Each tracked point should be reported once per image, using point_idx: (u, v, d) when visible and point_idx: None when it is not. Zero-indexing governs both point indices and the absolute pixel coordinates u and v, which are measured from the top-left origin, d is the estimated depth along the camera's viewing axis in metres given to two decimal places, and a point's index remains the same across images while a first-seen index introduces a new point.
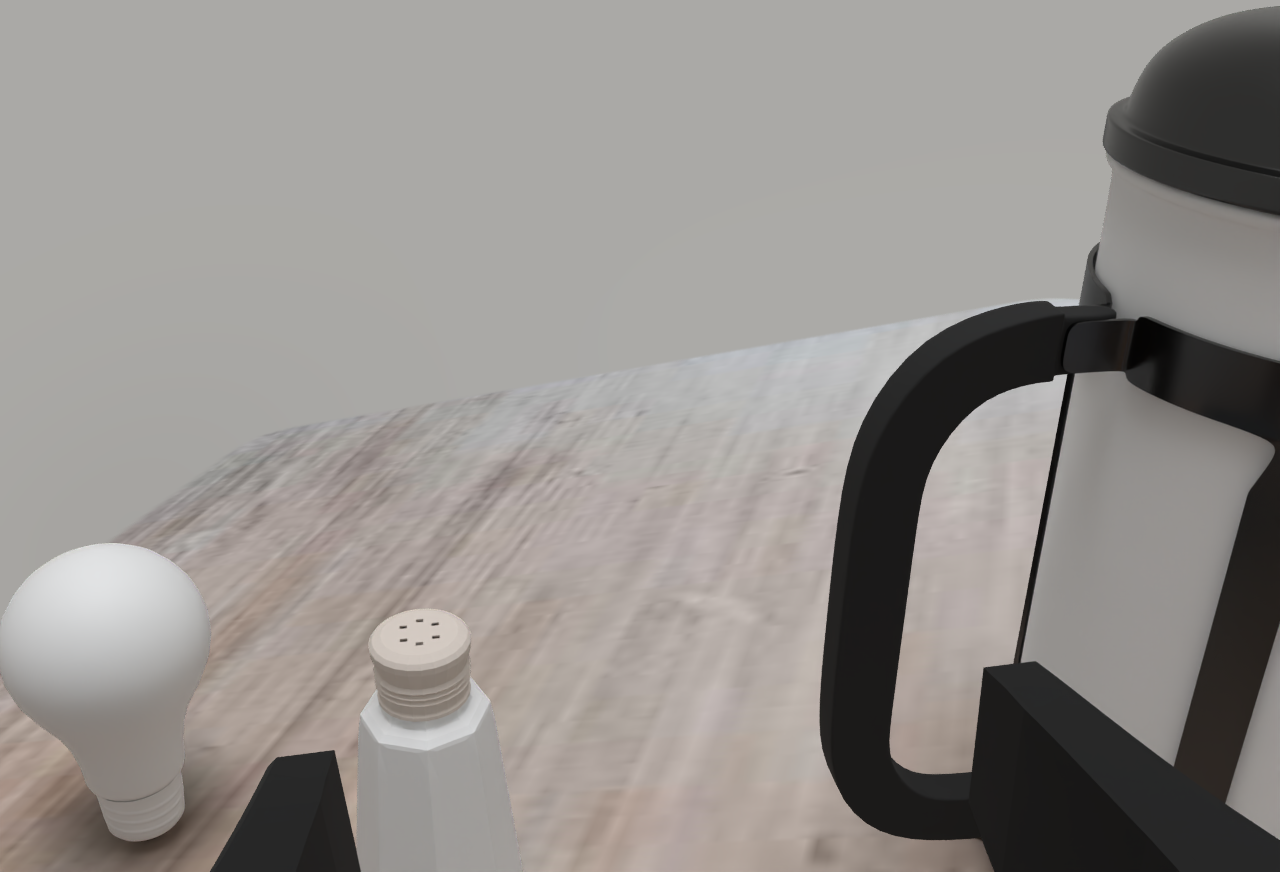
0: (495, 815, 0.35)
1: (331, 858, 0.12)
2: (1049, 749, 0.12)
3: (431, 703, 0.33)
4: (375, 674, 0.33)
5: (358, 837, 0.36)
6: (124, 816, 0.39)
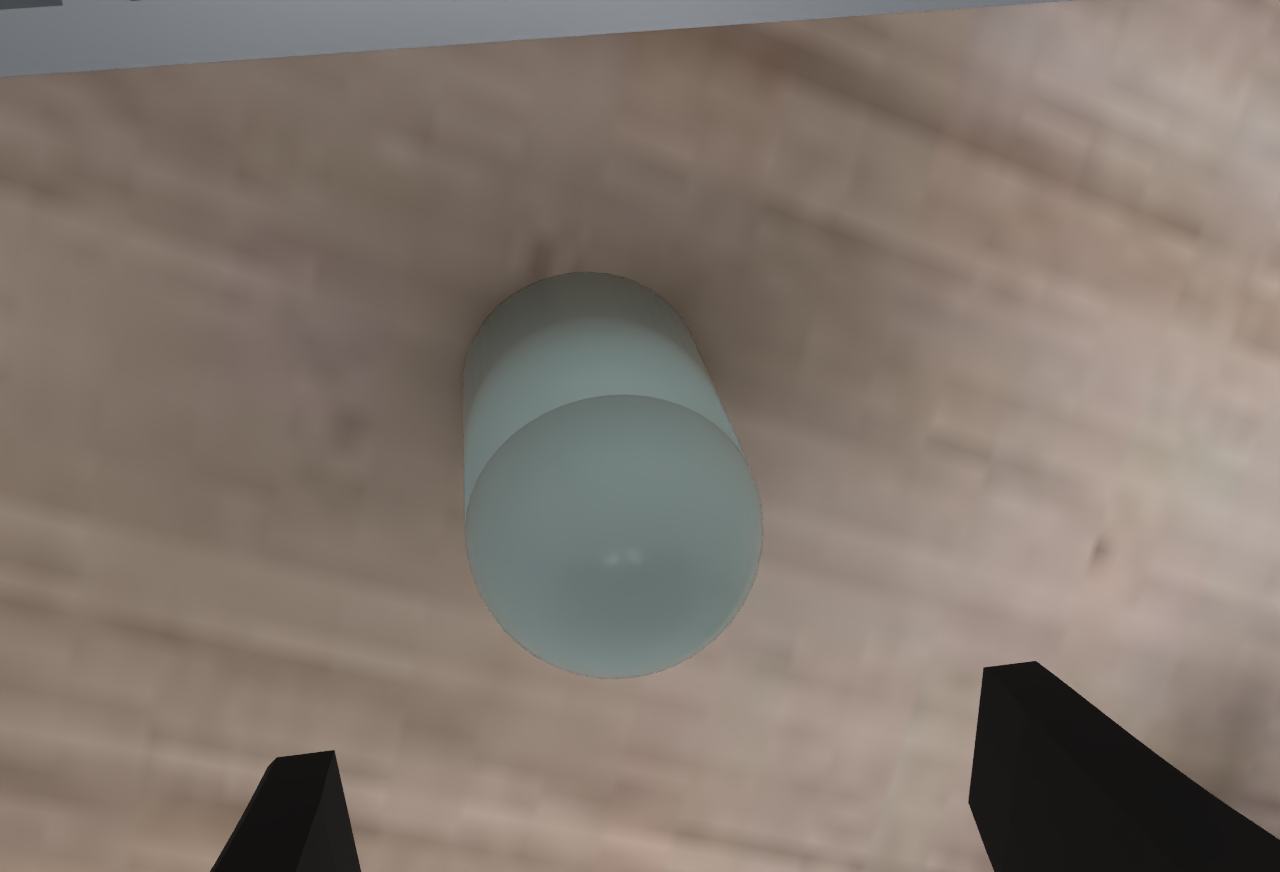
0: None
1: (331, 858, 0.12)
2: (1050, 749, 0.12)
3: None
4: None
5: None
6: None
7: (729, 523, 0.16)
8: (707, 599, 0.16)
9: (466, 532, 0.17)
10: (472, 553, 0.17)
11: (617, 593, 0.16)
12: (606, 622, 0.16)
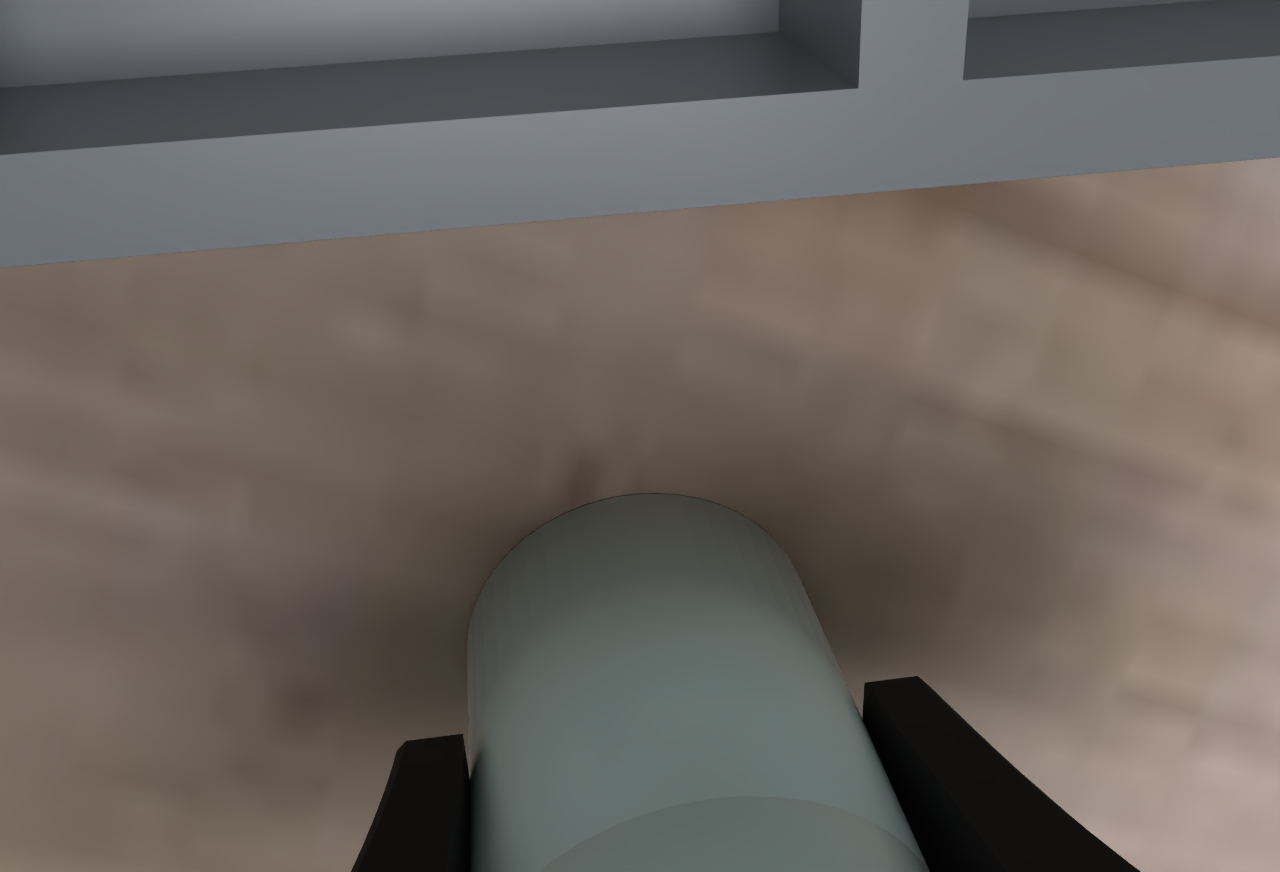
0: None
1: (467, 840, 0.12)
2: (916, 767, 0.12)
3: None
4: None
5: None
6: None
7: None
8: None
9: None
10: None
11: None
12: None
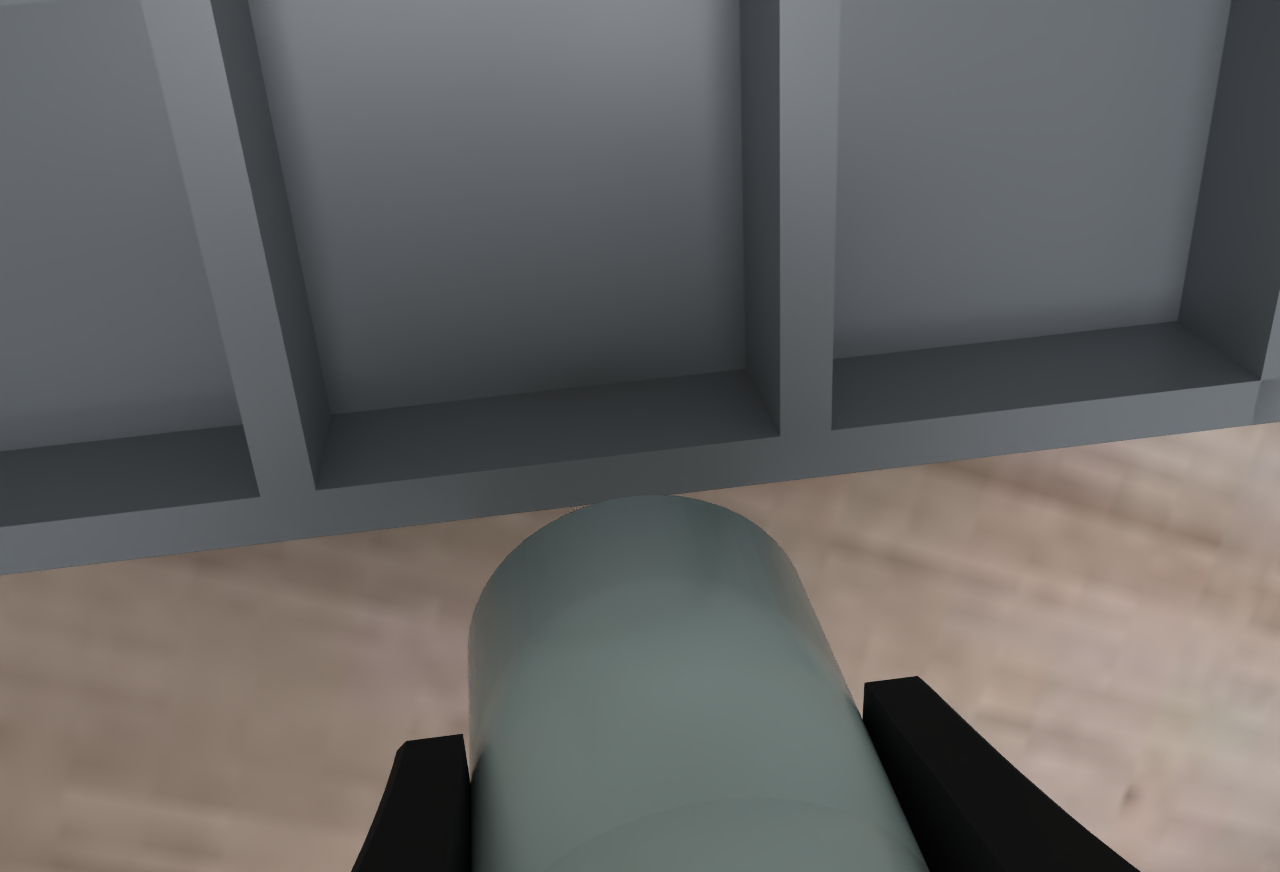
0: None
1: (467, 839, 0.12)
2: (917, 766, 0.12)
3: None
4: None
5: None
6: None
7: None
8: None
9: None
10: None
11: None
12: None
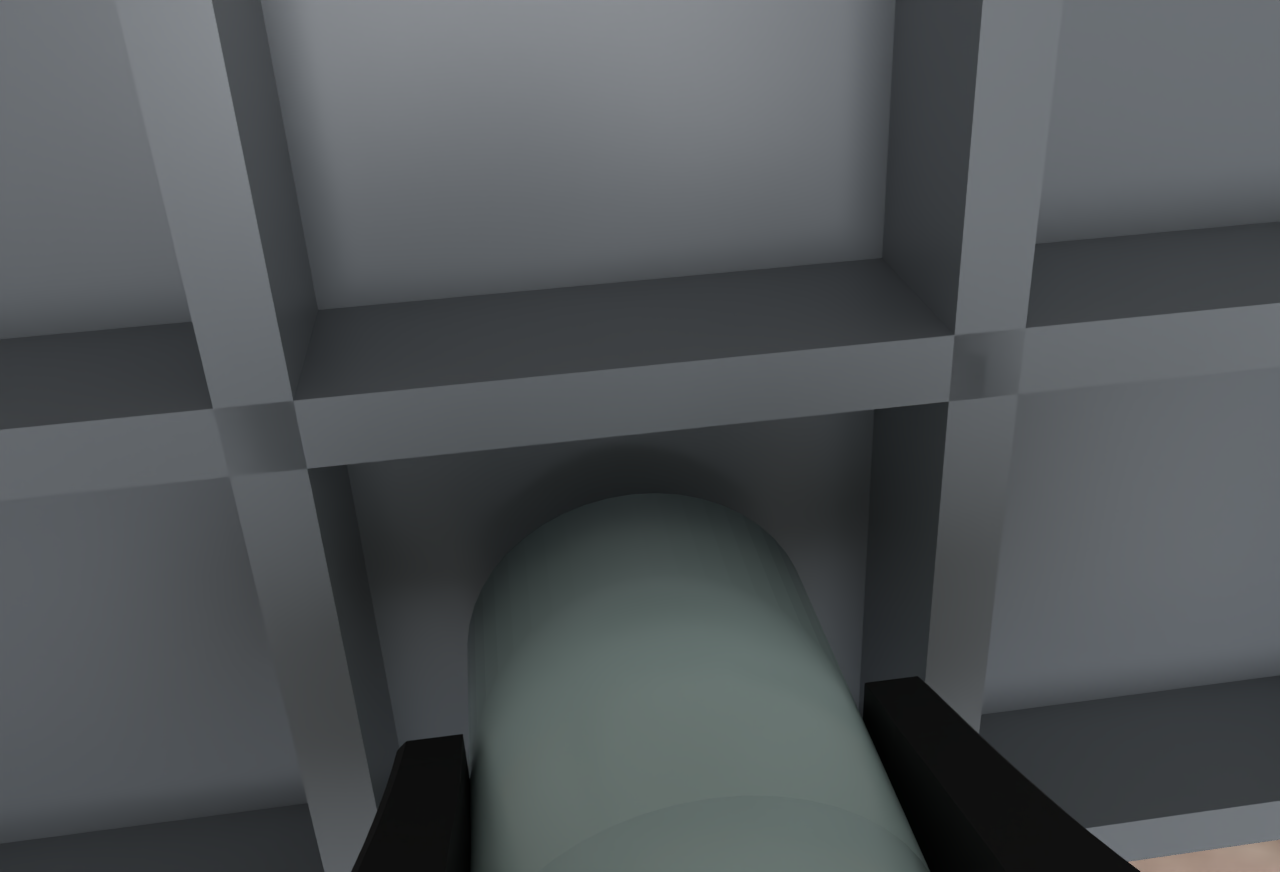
0: None
1: (467, 840, 0.12)
2: (916, 767, 0.12)
3: None
4: None
5: None
6: None
7: None
8: None
9: None
10: None
11: None
12: None
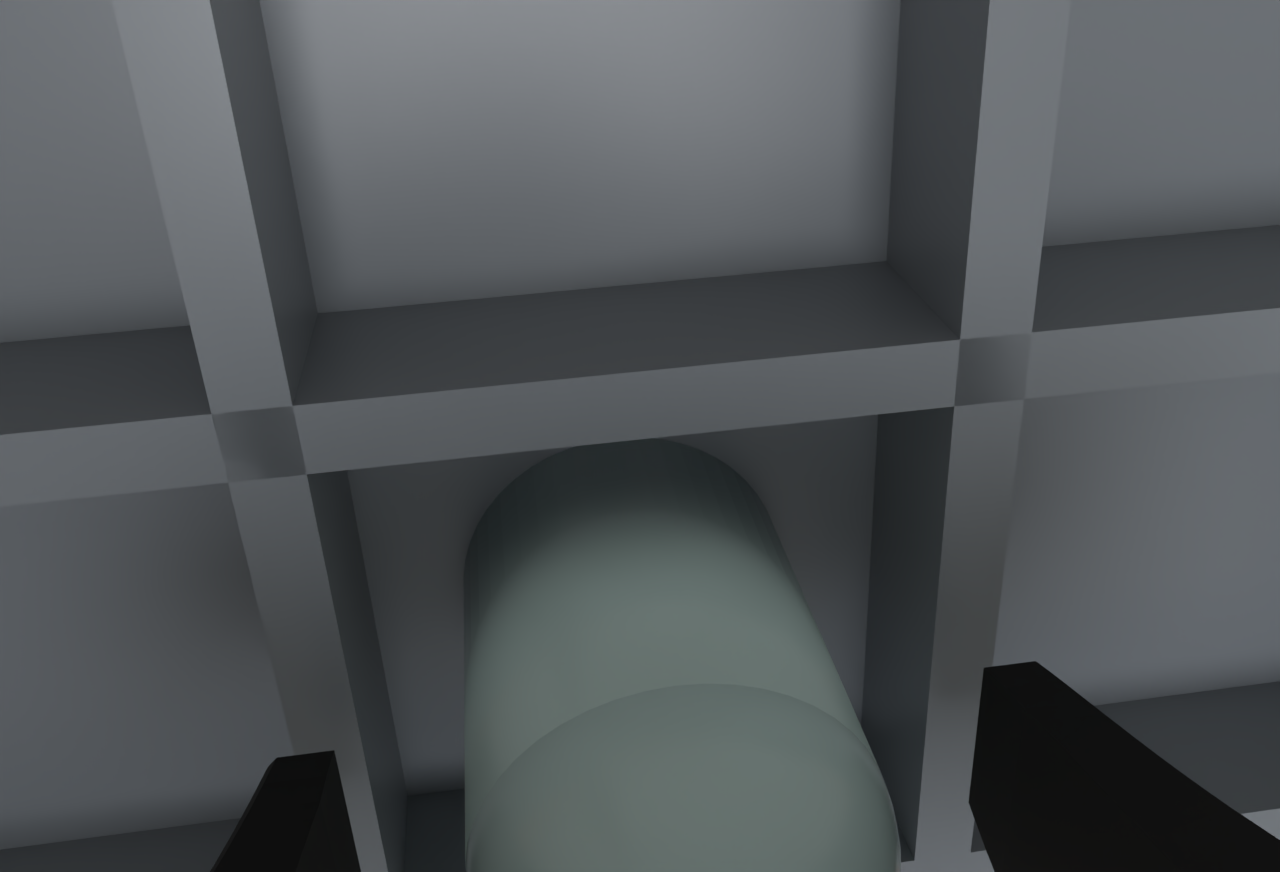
0: None
1: (331, 858, 0.12)
2: (1050, 749, 0.12)
3: None
4: None
5: None
6: None
7: None
8: None
9: None
10: None
11: None
12: None
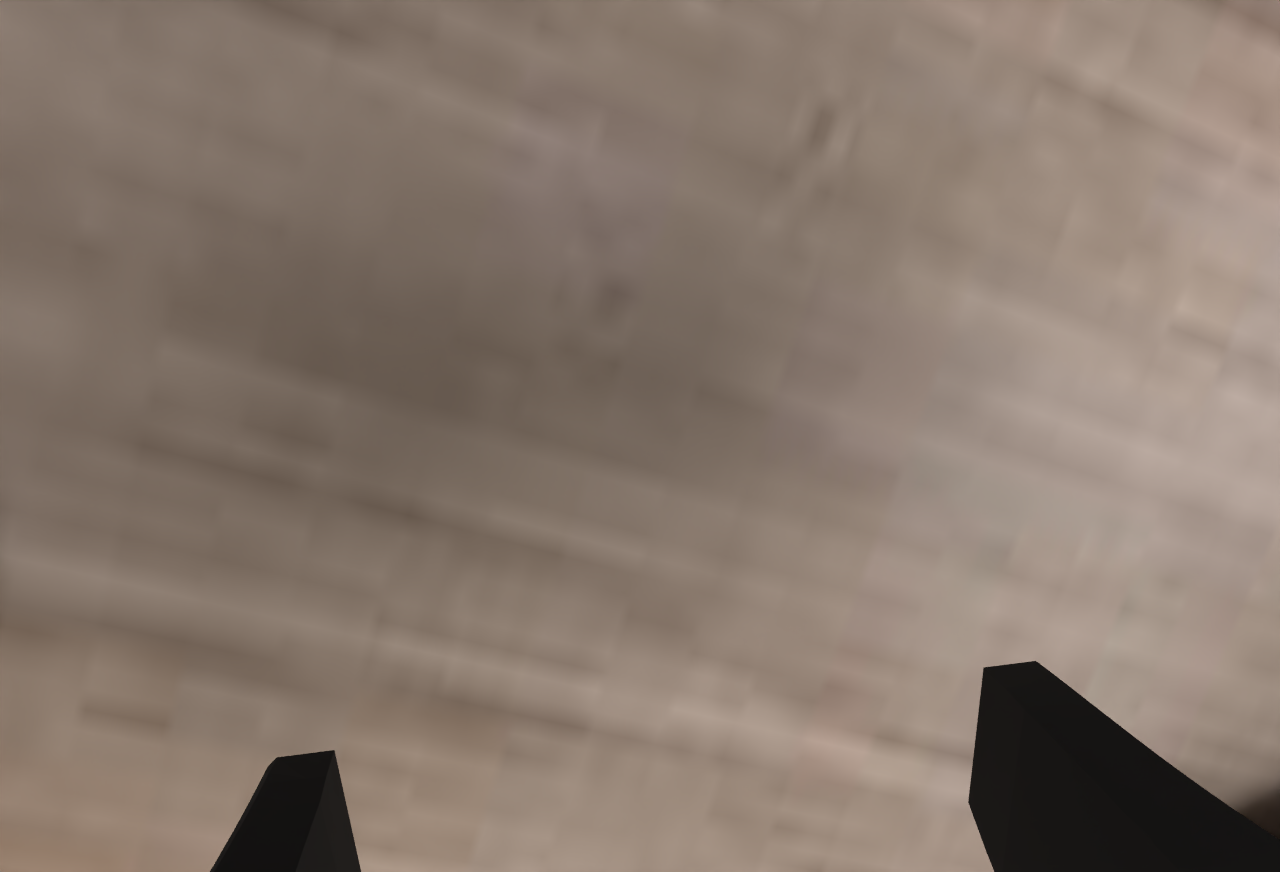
0: None
1: (331, 858, 0.12)
2: (1050, 749, 0.12)
3: None
4: None
5: None
6: None
7: None
8: None
9: None
10: None
11: None
12: None
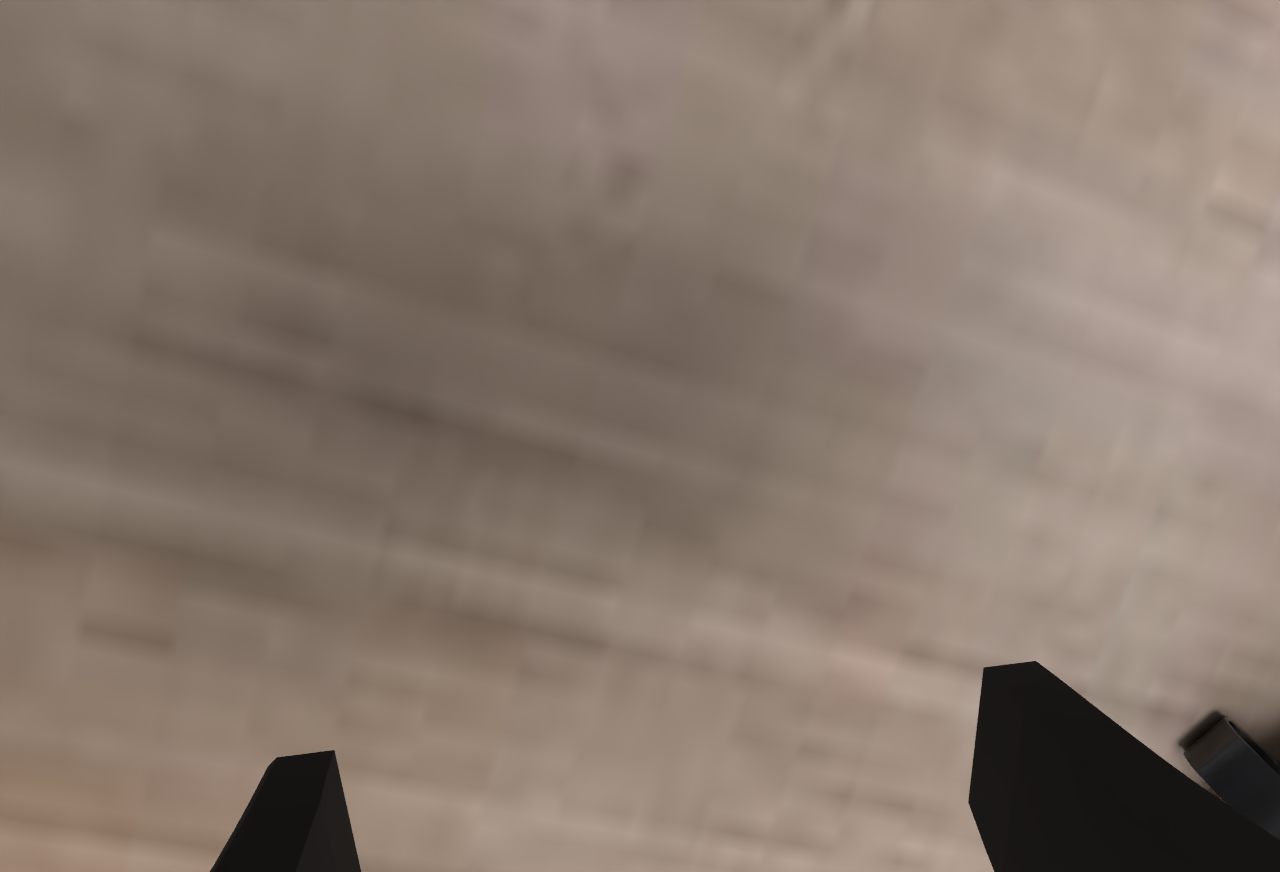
0: None
1: (331, 858, 0.12)
2: (1050, 749, 0.12)
3: None
4: None
5: None
6: None
7: None
8: None
9: None
10: None
11: None
12: None
